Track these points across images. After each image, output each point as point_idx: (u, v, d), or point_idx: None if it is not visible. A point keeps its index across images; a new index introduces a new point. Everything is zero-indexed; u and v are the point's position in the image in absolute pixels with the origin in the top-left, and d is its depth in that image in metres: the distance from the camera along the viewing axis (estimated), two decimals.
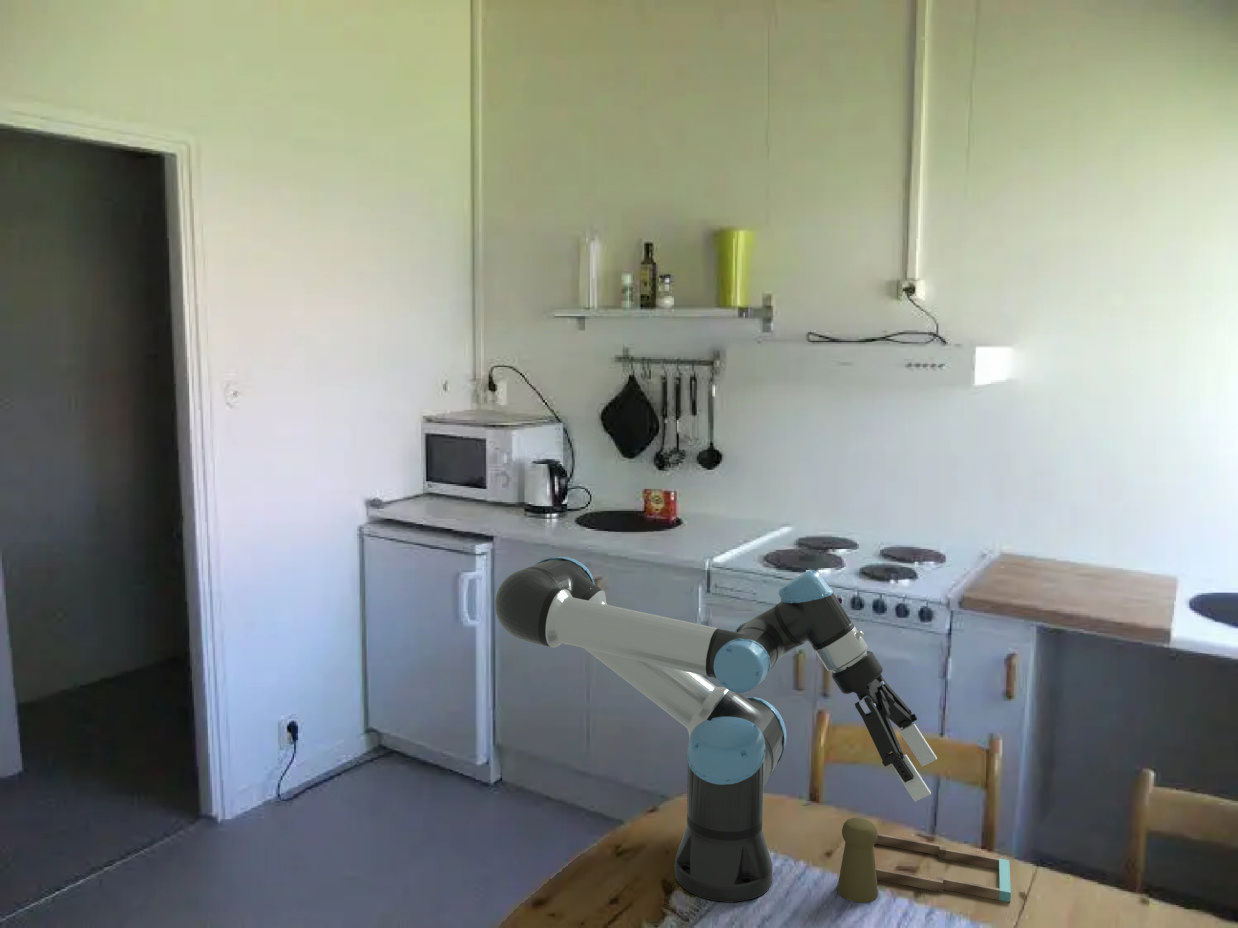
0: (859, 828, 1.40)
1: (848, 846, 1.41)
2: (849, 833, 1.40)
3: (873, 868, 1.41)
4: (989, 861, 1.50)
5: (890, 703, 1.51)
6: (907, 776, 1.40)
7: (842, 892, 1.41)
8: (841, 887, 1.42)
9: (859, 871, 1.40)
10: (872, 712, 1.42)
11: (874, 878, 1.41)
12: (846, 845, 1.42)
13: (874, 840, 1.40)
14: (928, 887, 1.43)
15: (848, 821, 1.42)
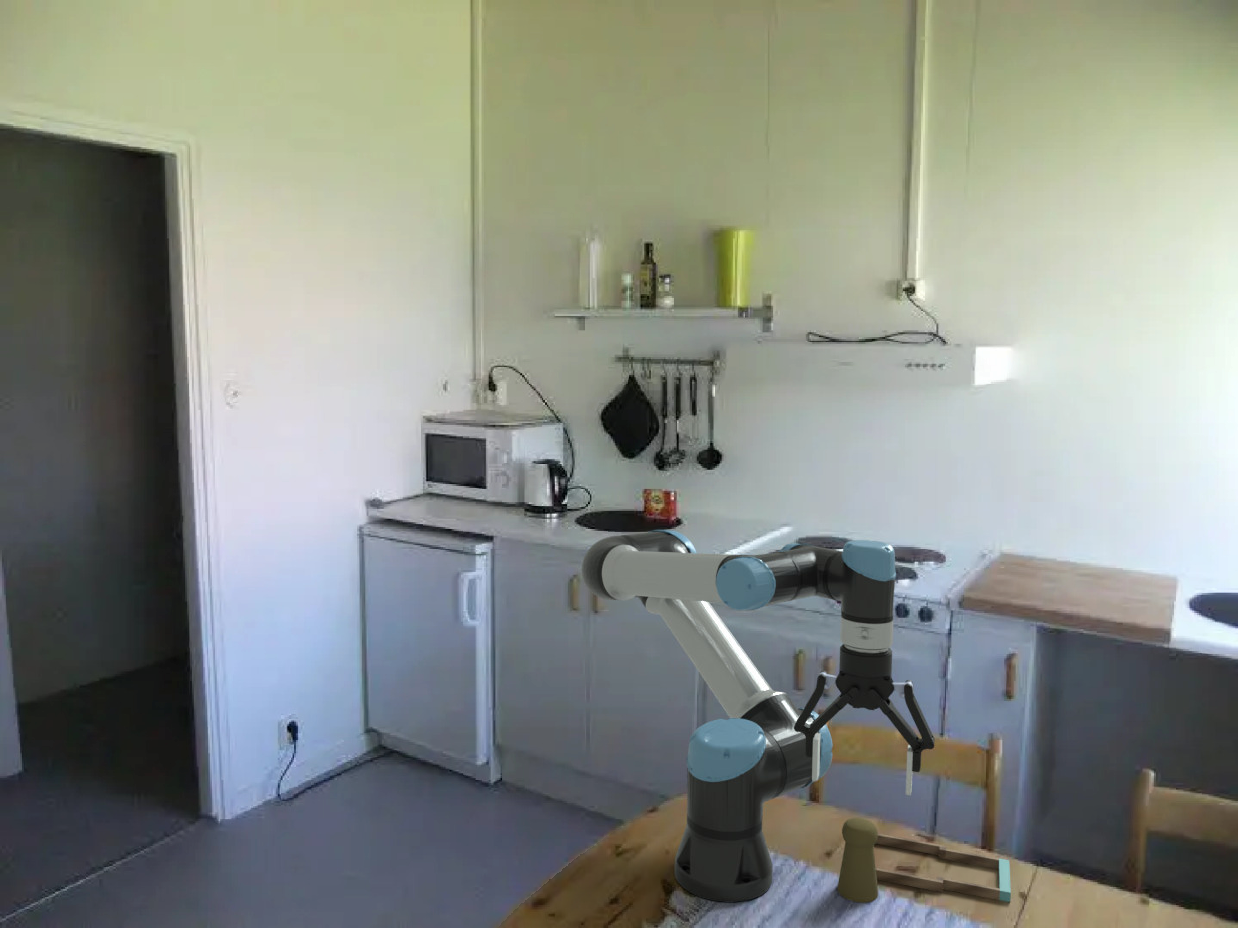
0: (859, 828, 1.40)
1: (848, 846, 1.41)
2: (849, 833, 1.40)
3: (873, 868, 1.41)
4: (989, 861, 1.50)
5: None
6: (806, 750, 1.44)
7: (842, 892, 1.41)
8: (841, 887, 1.42)
9: (859, 871, 1.40)
10: (816, 687, 1.42)
11: (874, 878, 1.41)
12: (846, 845, 1.42)
13: (874, 840, 1.40)
14: (928, 887, 1.43)
15: (848, 821, 1.42)
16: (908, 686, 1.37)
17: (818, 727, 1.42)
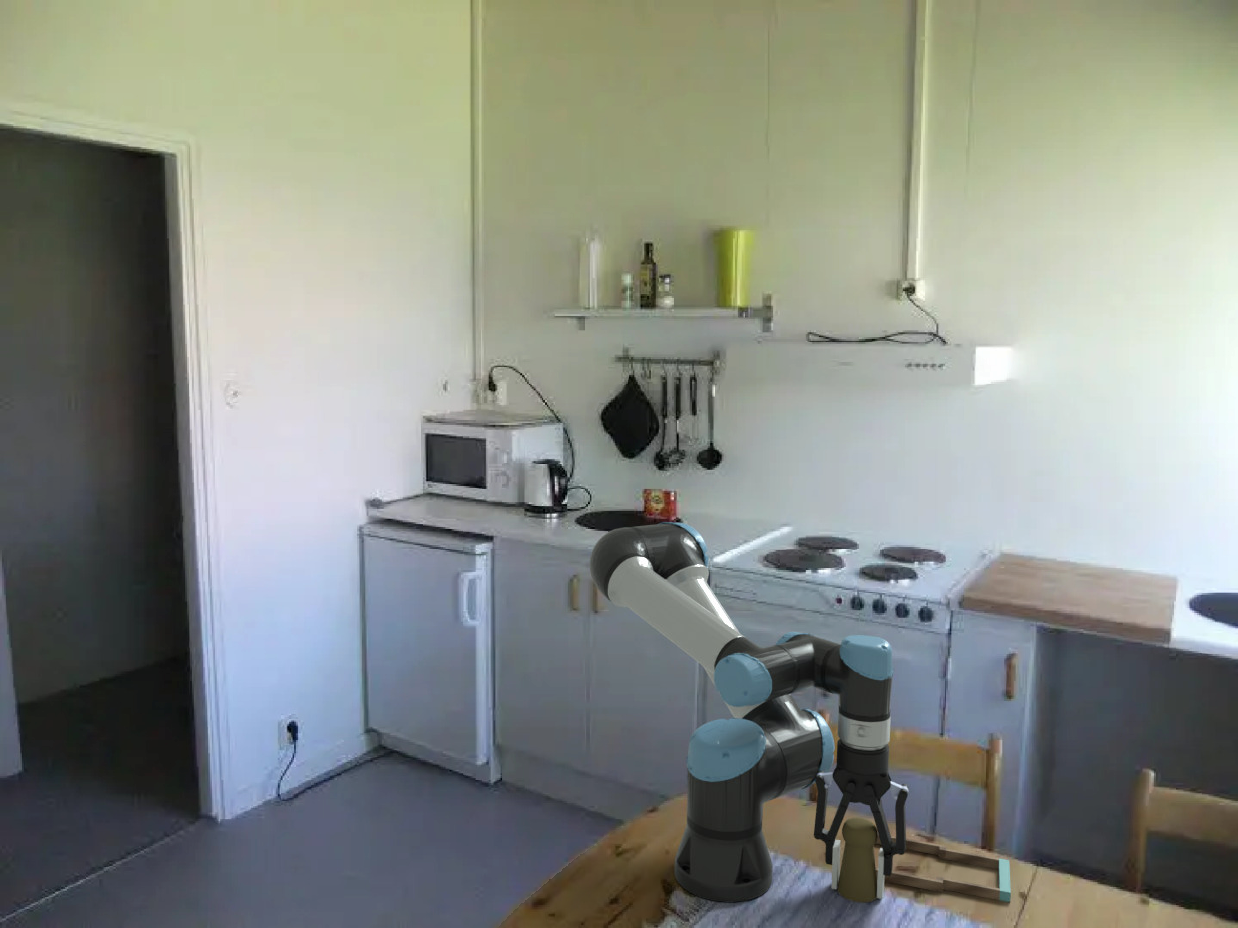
0: (859, 828, 1.40)
1: (848, 846, 1.41)
2: (849, 833, 1.40)
3: (873, 868, 1.41)
4: (989, 861, 1.50)
5: None
6: None
7: (842, 892, 1.41)
8: (841, 887, 1.42)
9: (859, 871, 1.40)
10: None
11: (874, 878, 1.41)
12: (846, 845, 1.42)
13: (874, 840, 1.40)
14: (928, 887, 1.43)
15: (848, 821, 1.42)
16: (904, 792, 1.38)
17: (834, 832, 1.42)
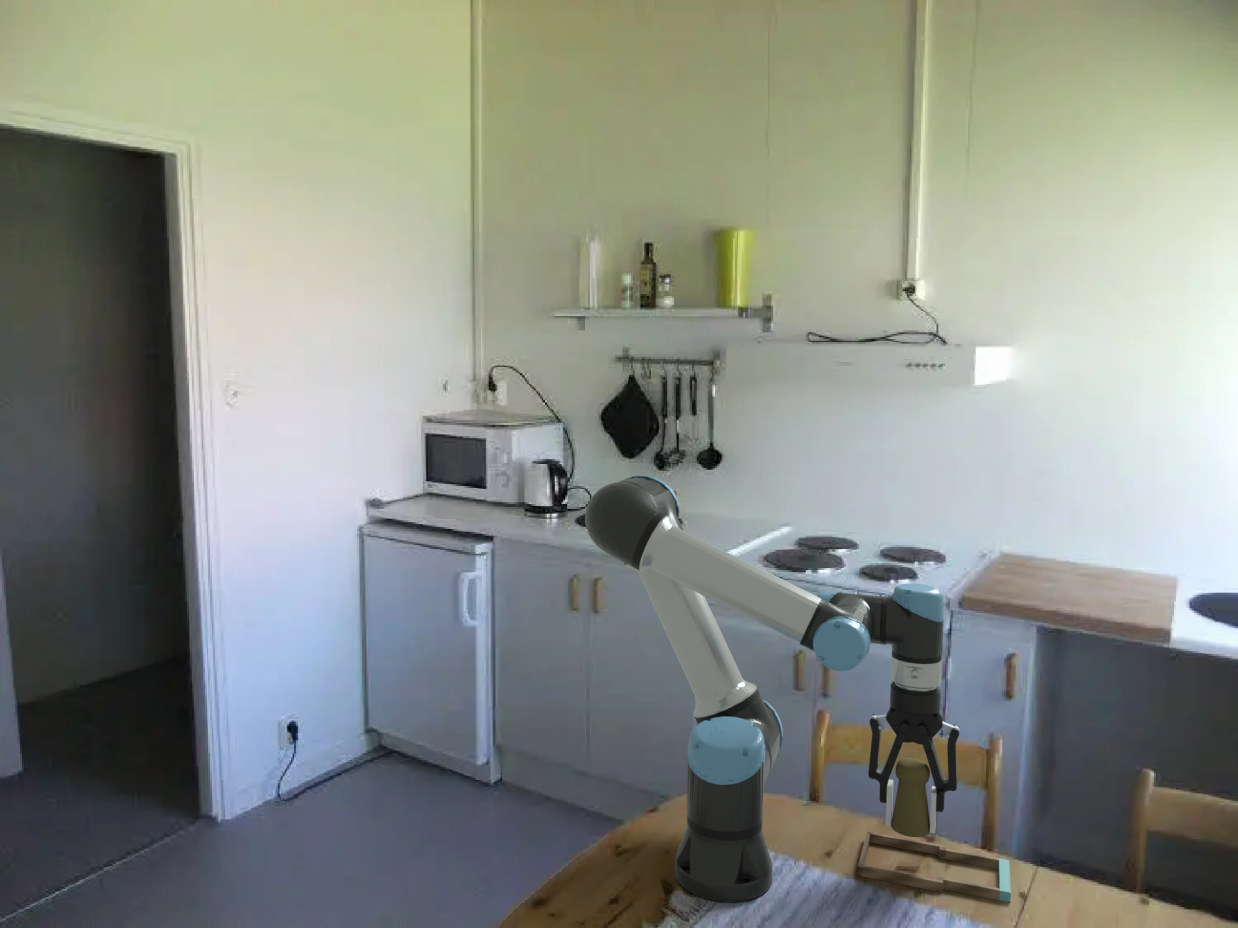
0: (913, 766, 1.47)
1: (902, 784, 1.48)
2: (903, 771, 1.47)
3: (926, 805, 1.48)
4: (989, 861, 1.50)
5: (924, 747, 1.47)
6: None
7: (896, 828, 1.48)
8: (895, 823, 1.49)
9: (913, 807, 1.47)
10: None
11: (927, 814, 1.48)
12: (900, 783, 1.49)
13: (927, 778, 1.47)
14: (928, 887, 1.43)
15: (901, 761, 1.49)
16: (956, 731, 1.45)
17: (888, 772, 1.49)
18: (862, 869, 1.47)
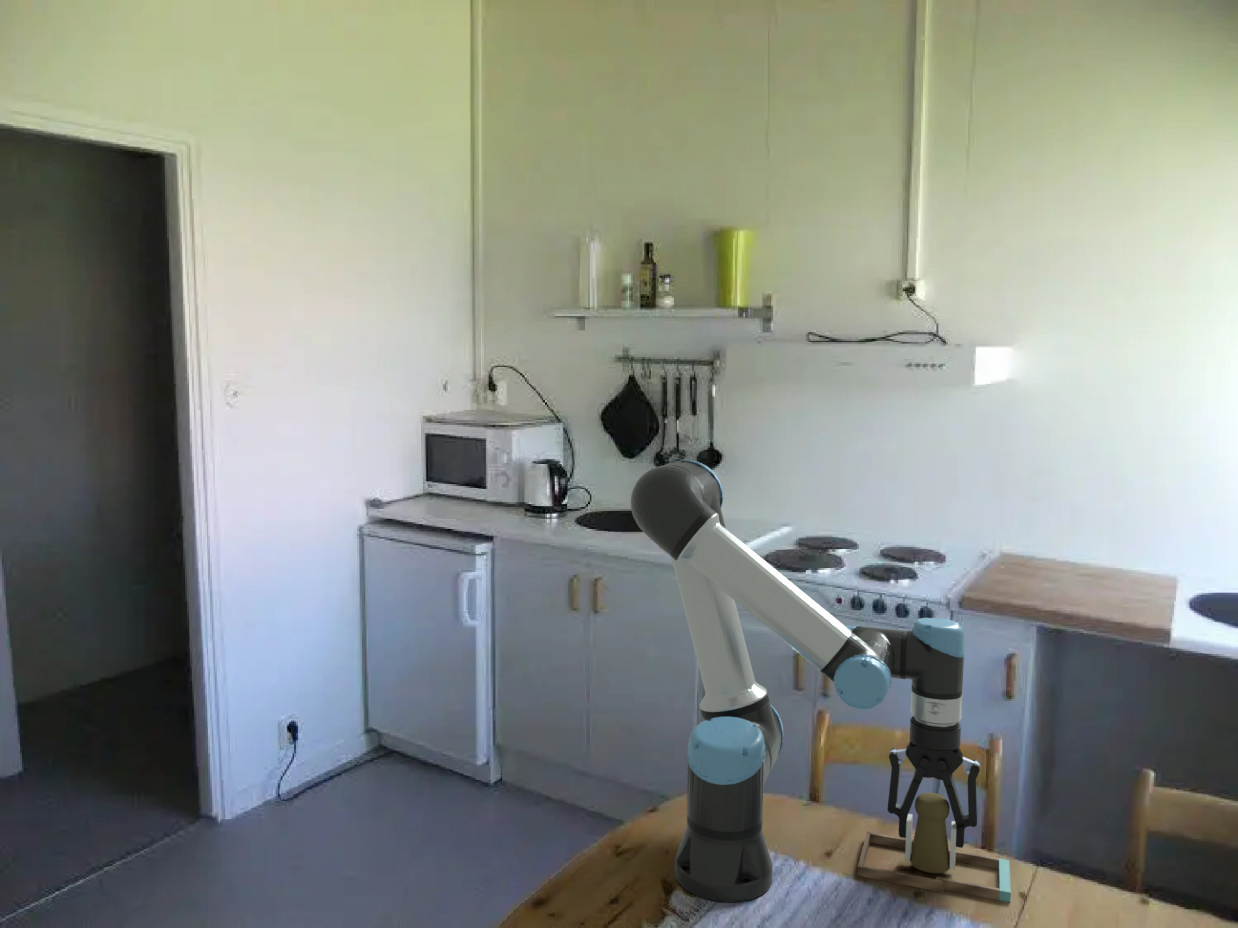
0: (932, 802, 1.46)
1: (921, 819, 1.47)
2: (923, 806, 1.47)
3: (946, 840, 1.47)
4: (989, 861, 1.50)
5: None
6: (899, 831, 1.50)
7: (916, 863, 1.48)
8: (915, 859, 1.48)
9: (933, 843, 1.46)
10: None
11: (947, 850, 1.47)
12: (919, 818, 1.48)
13: (947, 813, 1.46)
14: (928, 887, 1.43)
15: (921, 795, 1.49)
16: (976, 767, 1.44)
17: (908, 807, 1.48)
18: (862, 869, 1.47)
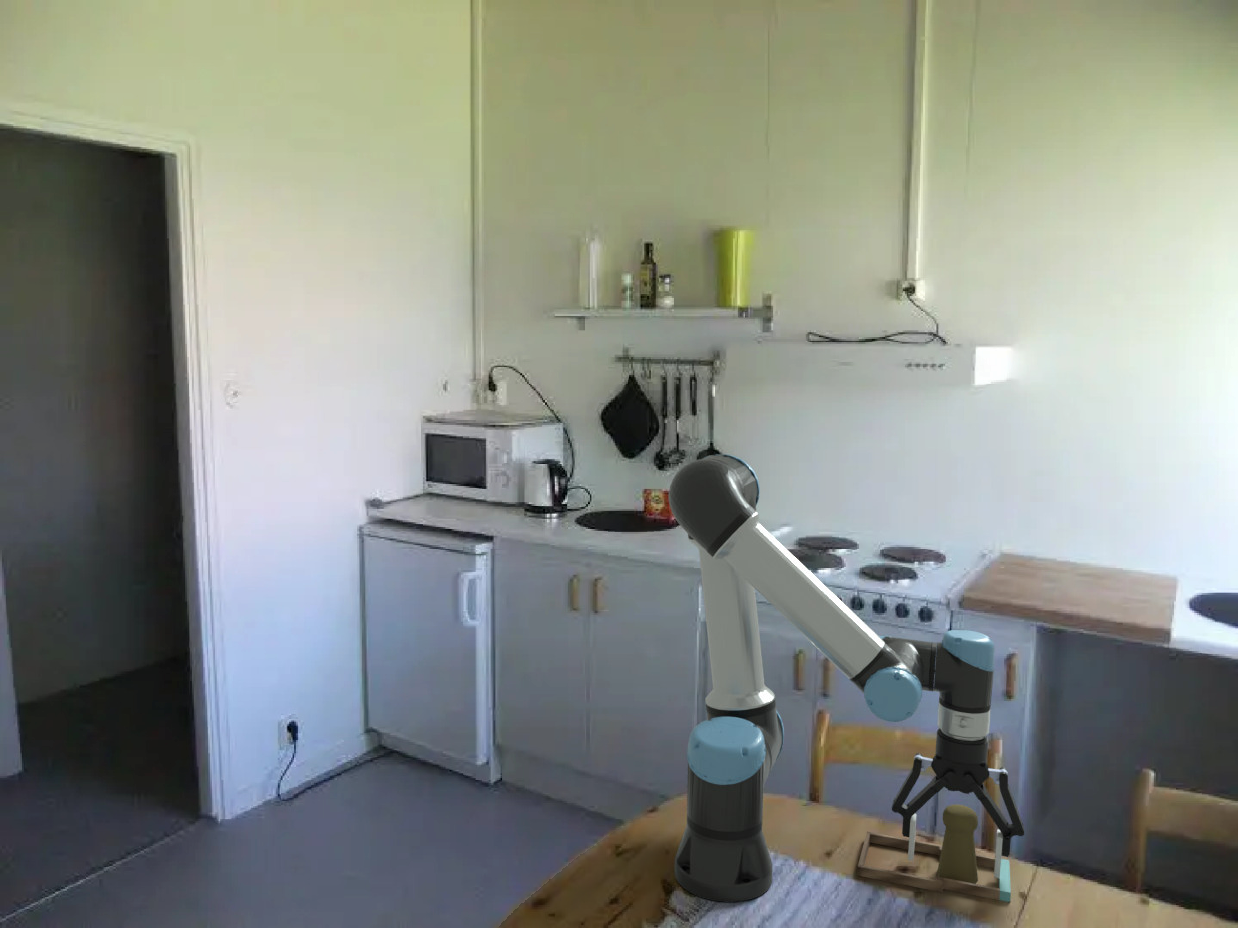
0: (961, 814, 1.45)
1: (949, 832, 1.46)
2: (951, 819, 1.45)
3: (974, 853, 1.46)
4: (989, 861, 1.50)
5: None
6: None
7: (943, 876, 1.46)
8: (942, 871, 1.47)
9: (961, 856, 1.45)
10: (912, 770, 1.48)
11: (975, 862, 1.46)
12: (947, 831, 1.47)
13: (975, 826, 1.45)
14: (928, 887, 1.43)
15: (949, 807, 1.47)
16: (1004, 774, 1.43)
17: (915, 809, 1.48)
18: (862, 869, 1.47)
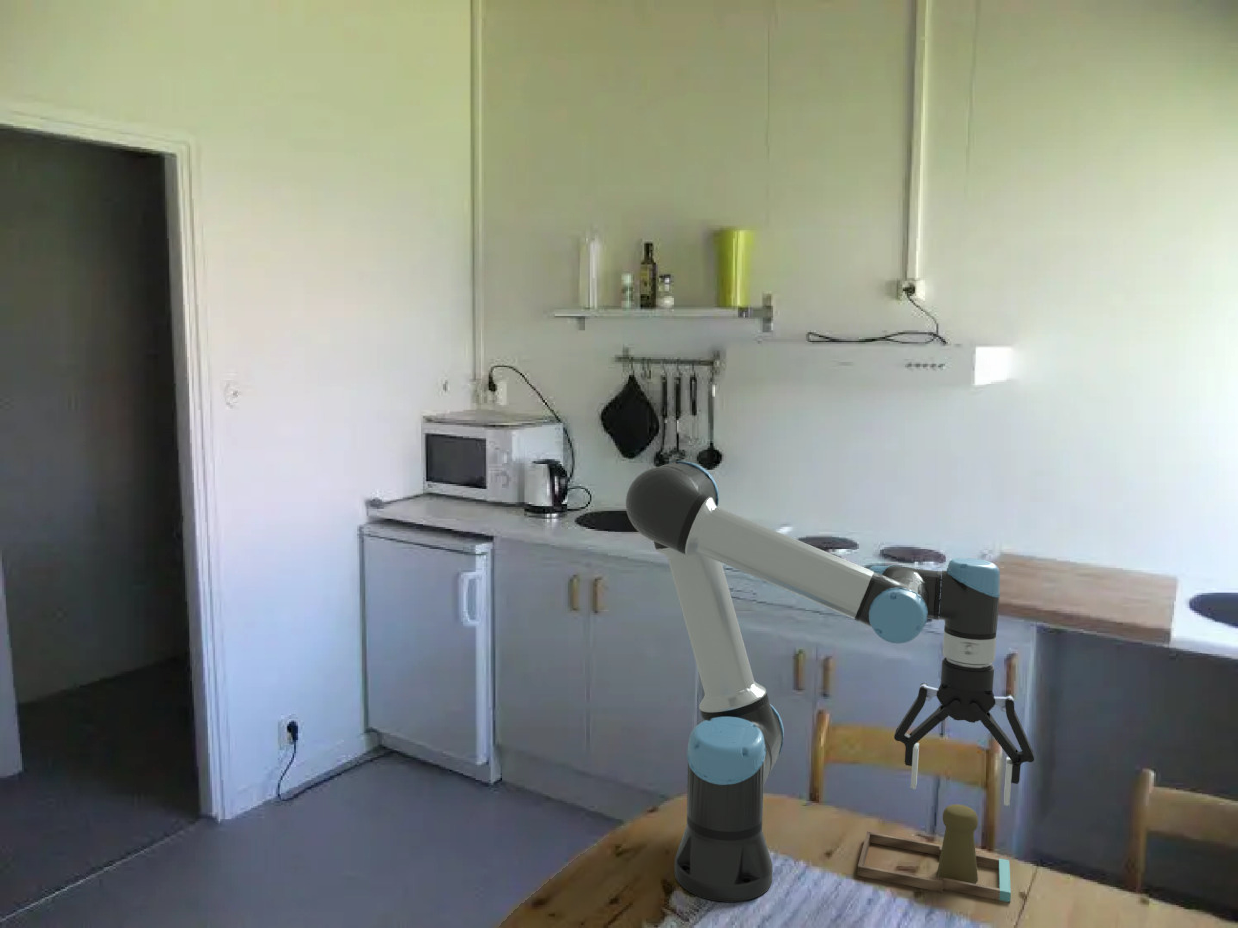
0: (961, 814, 1.45)
1: (949, 831, 1.46)
2: (951, 818, 1.45)
3: (974, 853, 1.46)
4: (989, 861, 1.50)
5: None
6: (905, 759, 1.49)
7: (943, 876, 1.46)
8: (942, 871, 1.47)
9: (961, 856, 1.45)
10: (917, 699, 1.47)
11: (975, 862, 1.46)
12: (947, 831, 1.47)
13: (975, 826, 1.45)
14: (928, 887, 1.43)
15: (949, 807, 1.47)
16: (1010, 700, 1.42)
17: (918, 737, 1.47)
18: (862, 869, 1.47)
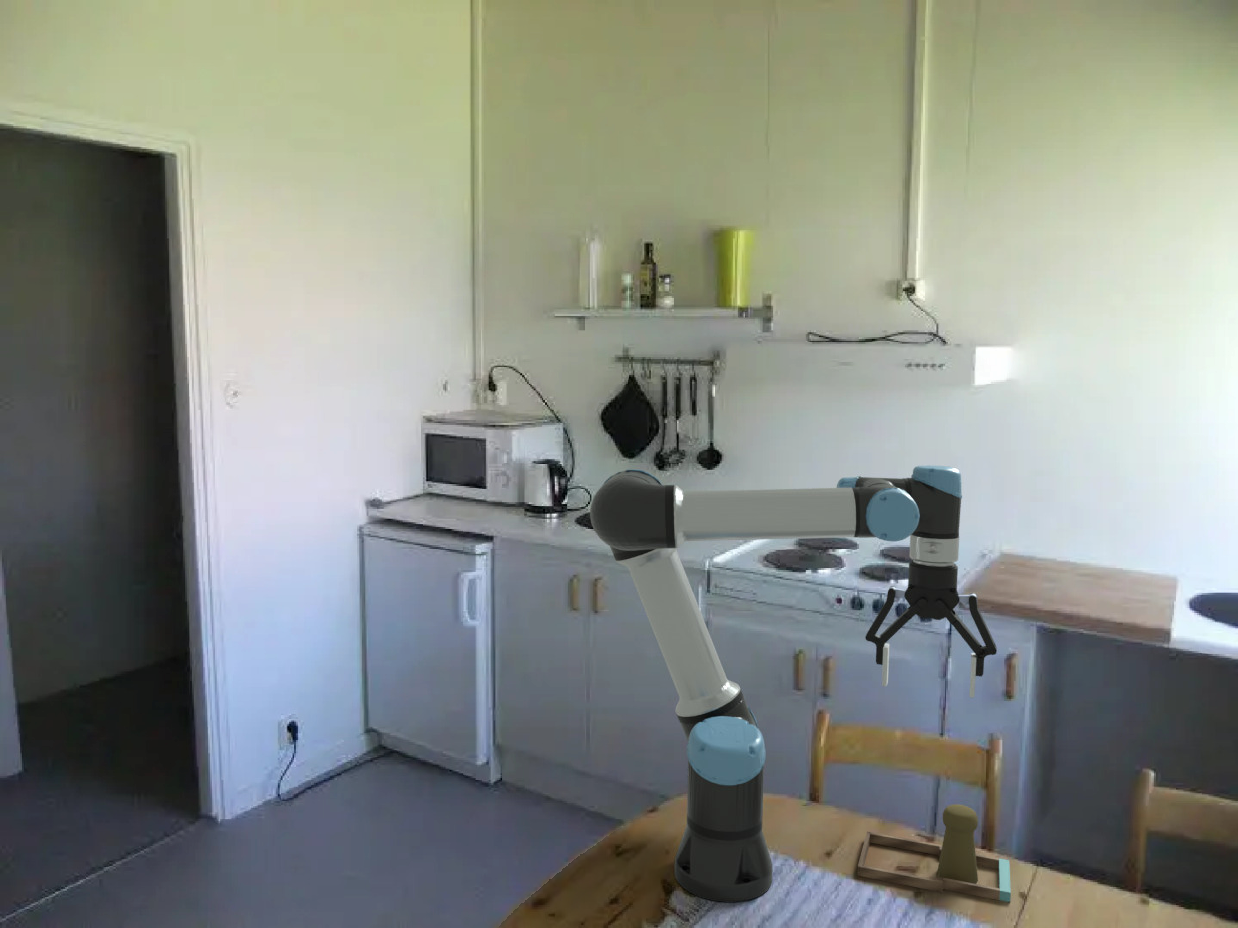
0: (961, 814, 1.45)
1: (949, 831, 1.46)
2: (951, 818, 1.45)
3: (974, 853, 1.46)
4: (989, 861, 1.50)
5: None
6: None
7: (943, 876, 1.46)
8: (942, 871, 1.47)
9: (961, 856, 1.45)
10: None
11: (975, 862, 1.46)
12: (947, 831, 1.47)
13: (975, 826, 1.45)
14: (928, 887, 1.43)
15: (949, 807, 1.47)
16: (973, 597, 1.50)
17: (888, 636, 1.55)
18: (862, 869, 1.47)
